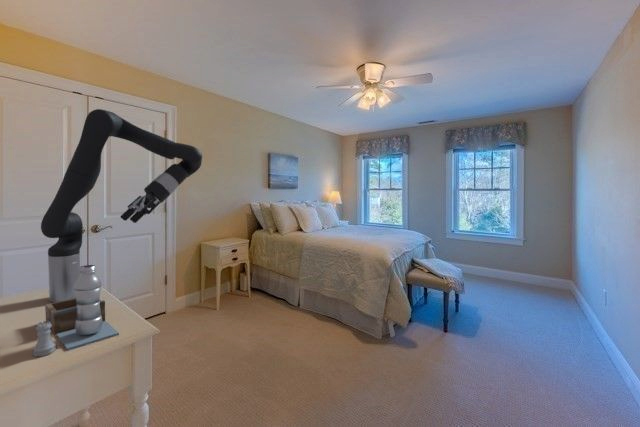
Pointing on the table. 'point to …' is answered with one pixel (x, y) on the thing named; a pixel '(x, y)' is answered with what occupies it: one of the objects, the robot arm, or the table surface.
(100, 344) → the table surface
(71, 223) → the robot arm
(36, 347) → the rook chess piece
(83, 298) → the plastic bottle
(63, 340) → the mat
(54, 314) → the holder
